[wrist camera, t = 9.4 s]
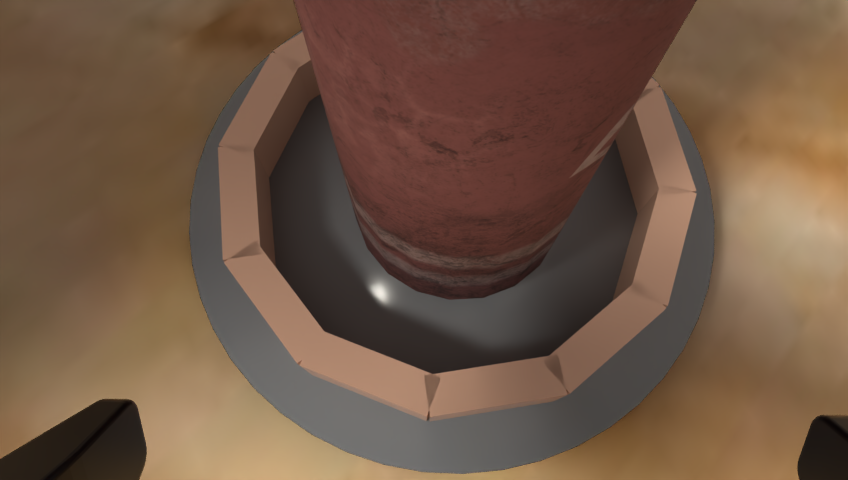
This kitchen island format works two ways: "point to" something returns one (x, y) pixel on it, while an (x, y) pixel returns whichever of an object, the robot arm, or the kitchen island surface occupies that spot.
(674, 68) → the kitchen island surface
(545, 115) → the can
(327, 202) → the ring tray
